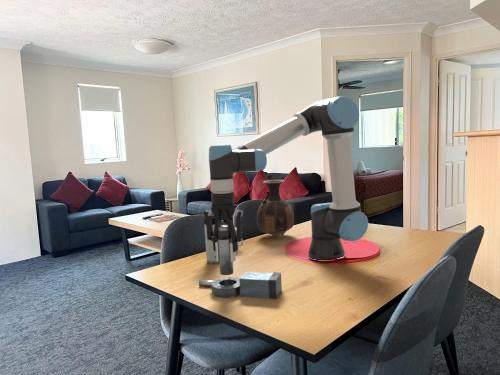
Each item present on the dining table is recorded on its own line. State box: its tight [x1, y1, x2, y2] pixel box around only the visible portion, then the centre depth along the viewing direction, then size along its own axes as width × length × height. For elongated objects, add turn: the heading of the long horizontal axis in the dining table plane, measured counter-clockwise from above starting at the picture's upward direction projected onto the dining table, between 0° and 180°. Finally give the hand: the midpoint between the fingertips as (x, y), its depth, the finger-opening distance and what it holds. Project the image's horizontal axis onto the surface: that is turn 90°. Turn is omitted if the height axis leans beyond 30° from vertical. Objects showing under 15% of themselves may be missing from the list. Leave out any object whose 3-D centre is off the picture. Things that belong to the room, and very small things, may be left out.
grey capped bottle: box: [217, 224, 234, 276], centre depth 126 cm, size 5×5×16 cm
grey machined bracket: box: [198, 270, 283, 300], centre depth 127 cm, size 30×11×6 cm, turn 72°
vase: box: [256, 179, 295, 238], centre depth 198 cm, size 23×19×30 cm
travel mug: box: [203, 215, 220, 265], centre depth 161 cm, size 6×7×20 cm
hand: (226, 260), depth 127 cm, fingers closed on grey capped bottle, 4 cm apart
